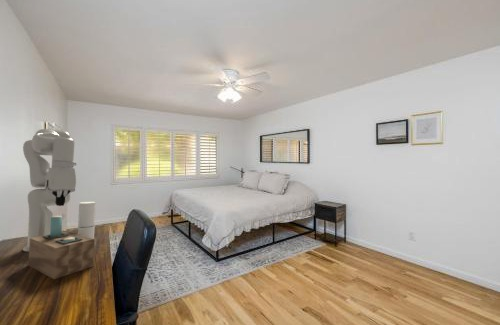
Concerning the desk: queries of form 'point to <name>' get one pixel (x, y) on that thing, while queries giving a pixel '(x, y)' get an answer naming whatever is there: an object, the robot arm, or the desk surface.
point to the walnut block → (61, 254)
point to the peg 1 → (56, 226)
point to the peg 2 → (68, 239)
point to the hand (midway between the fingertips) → (60, 205)
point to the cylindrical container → (86, 219)
